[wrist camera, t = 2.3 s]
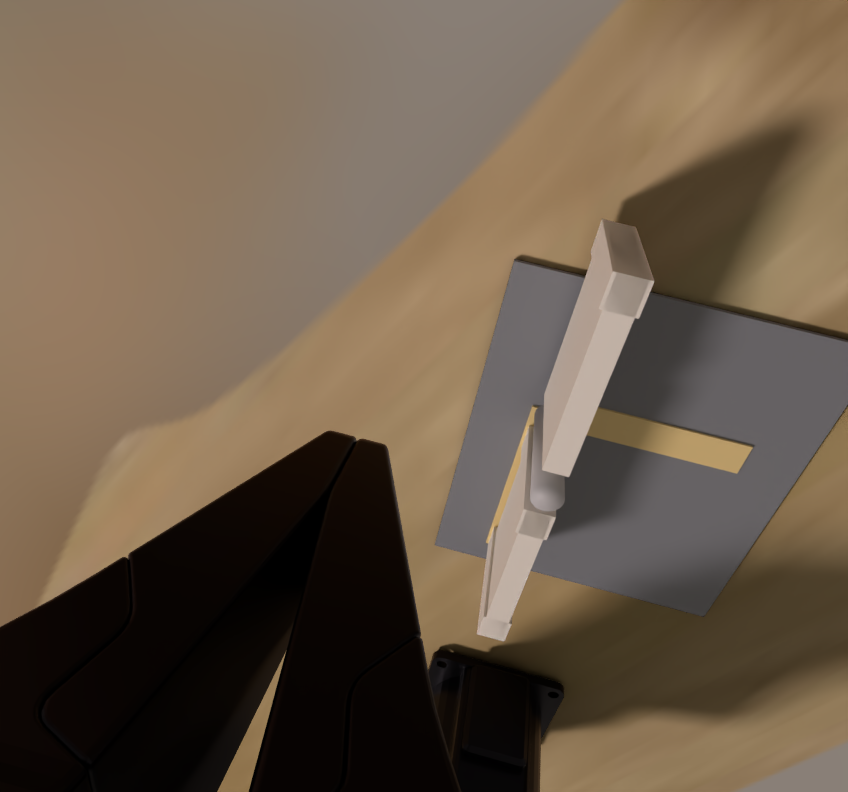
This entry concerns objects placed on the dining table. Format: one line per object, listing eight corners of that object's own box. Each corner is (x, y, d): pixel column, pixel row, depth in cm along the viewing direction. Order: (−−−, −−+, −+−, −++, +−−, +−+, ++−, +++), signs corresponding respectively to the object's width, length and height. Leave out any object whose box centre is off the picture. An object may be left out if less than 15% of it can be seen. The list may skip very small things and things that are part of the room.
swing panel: (558, 430, 23) (558, 515, 19) (530, 423, 23) (526, 506, 19) (635, 227, 18) (655, 284, 15) (601, 218, 19) (613, 274, 15)
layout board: (703, 612, 27) (704, 618, 27) (435, 541, 27) (434, 547, 27) (881, 347, 20) (885, 352, 19) (514, 258, 20) (513, 262, 20)
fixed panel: (511, 549, 26) (504, 641, 23) (488, 543, 26) (476, 634, 23) (556, 432, 23) (555, 517, 19) (528, 425, 23) (523, 509, 19)
